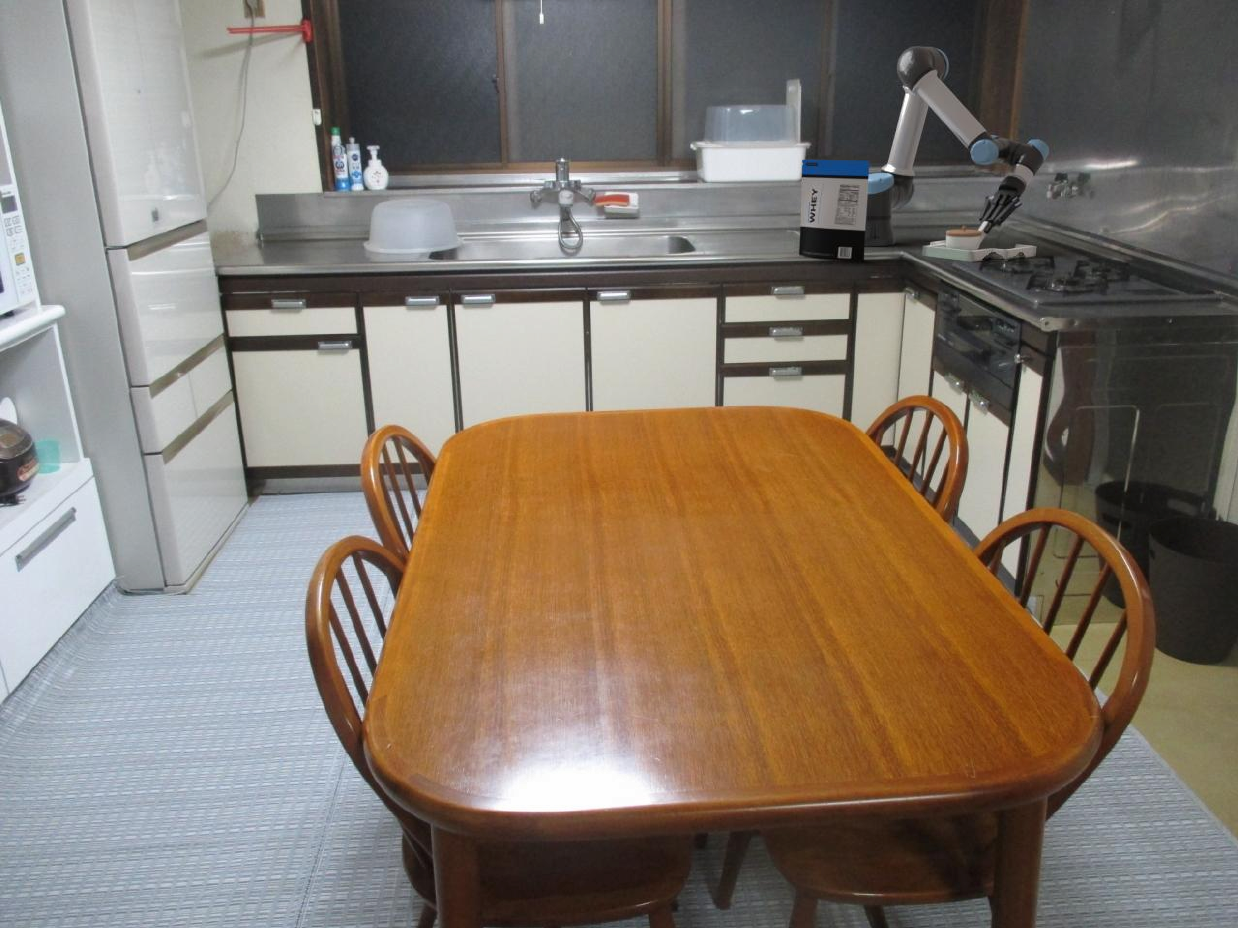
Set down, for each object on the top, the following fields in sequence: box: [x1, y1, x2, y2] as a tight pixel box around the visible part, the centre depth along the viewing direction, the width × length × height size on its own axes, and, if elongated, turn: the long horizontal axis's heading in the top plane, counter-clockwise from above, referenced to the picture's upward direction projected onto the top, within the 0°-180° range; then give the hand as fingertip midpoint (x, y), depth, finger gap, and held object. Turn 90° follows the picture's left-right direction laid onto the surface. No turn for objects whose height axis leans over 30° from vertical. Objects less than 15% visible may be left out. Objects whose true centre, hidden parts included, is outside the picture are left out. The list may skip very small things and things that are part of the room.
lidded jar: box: [945, 225, 982, 251], centre depth 321 cm, size 11×11×9 cm
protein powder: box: [798, 159, 870, 262], centre depth 322 cm, size 10×24×30 cm, turn 46°
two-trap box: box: [921, 239, 1037, 263], centre depth 325 cm, size 29×24×3 cm
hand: (976, 240), depth 325 cm, fingers closed
